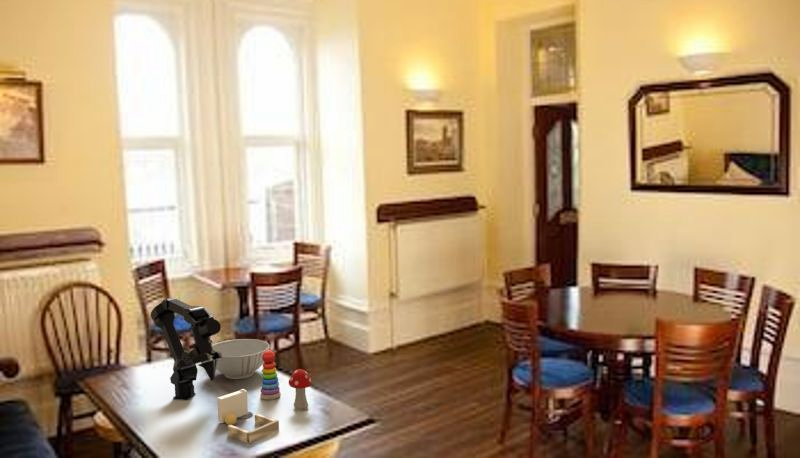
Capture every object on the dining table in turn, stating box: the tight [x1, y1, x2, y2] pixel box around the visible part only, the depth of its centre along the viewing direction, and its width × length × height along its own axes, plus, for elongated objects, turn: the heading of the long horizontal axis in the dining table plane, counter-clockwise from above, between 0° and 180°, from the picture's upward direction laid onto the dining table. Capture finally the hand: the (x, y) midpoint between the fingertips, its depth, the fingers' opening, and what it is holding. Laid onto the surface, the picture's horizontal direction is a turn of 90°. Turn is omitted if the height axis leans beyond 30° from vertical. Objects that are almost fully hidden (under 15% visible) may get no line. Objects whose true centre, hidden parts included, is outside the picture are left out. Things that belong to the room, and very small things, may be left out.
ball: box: [224, 414, 238, 426], centre depth 242 cm, size 4×4×4 cm
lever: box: [216, 388, 249, 424], centre depth 246 cm, size 2×11×9 cm, turn 138°
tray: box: [227, 413, 280, 444], centre depth 235 cm, size 11×13×4 cm
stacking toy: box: [259, 349, 281, 401], centre depth 268 cm, size 8×8×19 cm
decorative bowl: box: [212, 338, 271, 380], centre depth 296 cm, size 27×27×12 cm
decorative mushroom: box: [288, 368, 313, 412], centre depth 256 cm, size 10×9×15 cm
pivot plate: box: [237, 411, 253, 420], centre depth 250 cm, size 6×6×1 cm
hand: (212, 379), depth 255 cm, fingers closed
